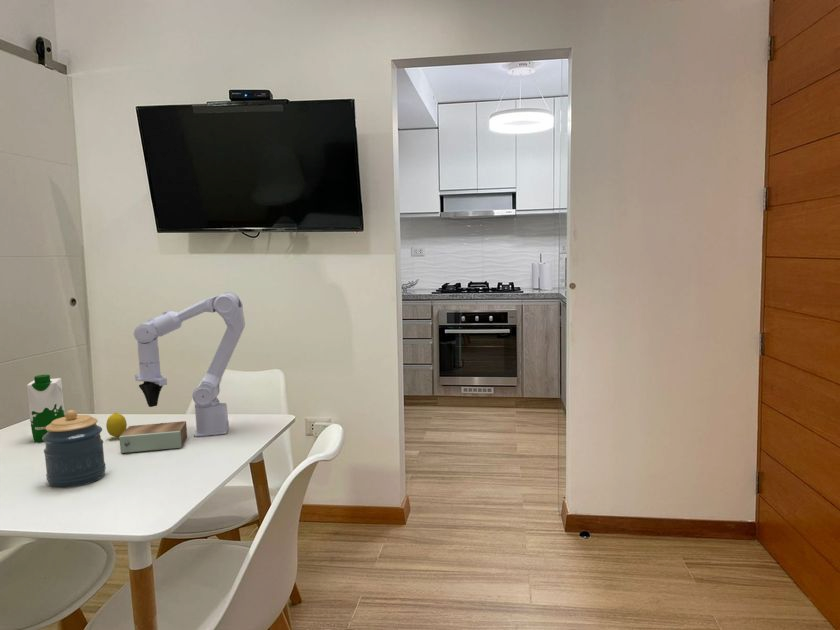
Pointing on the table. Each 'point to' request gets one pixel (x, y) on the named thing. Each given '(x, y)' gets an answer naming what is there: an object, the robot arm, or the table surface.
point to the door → (150, 441)
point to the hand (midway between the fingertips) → (152, 406)
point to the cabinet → (158, 429)
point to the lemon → (116, 425)
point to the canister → (73, 451)
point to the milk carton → (44, 404)
